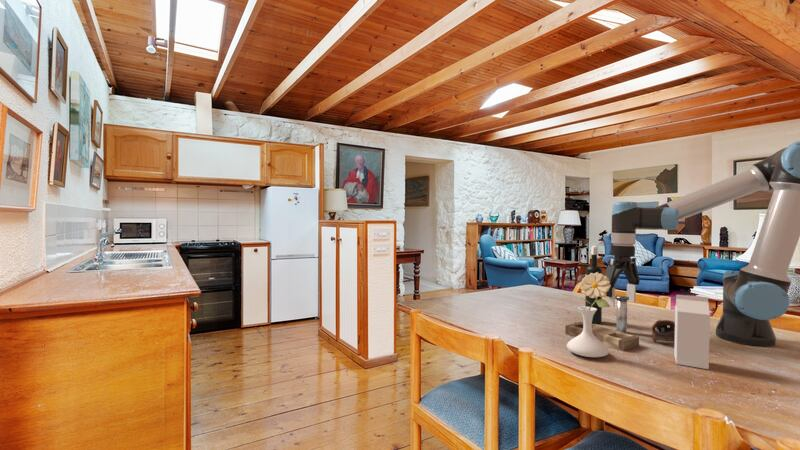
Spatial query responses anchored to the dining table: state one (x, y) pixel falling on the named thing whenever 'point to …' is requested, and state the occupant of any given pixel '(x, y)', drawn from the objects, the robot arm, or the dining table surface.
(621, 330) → the steel pin
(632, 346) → the wooden compartment tray
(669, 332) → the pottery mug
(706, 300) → the milk carton
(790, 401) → the dining table surface
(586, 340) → the flower in vase
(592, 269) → the wine bottle
